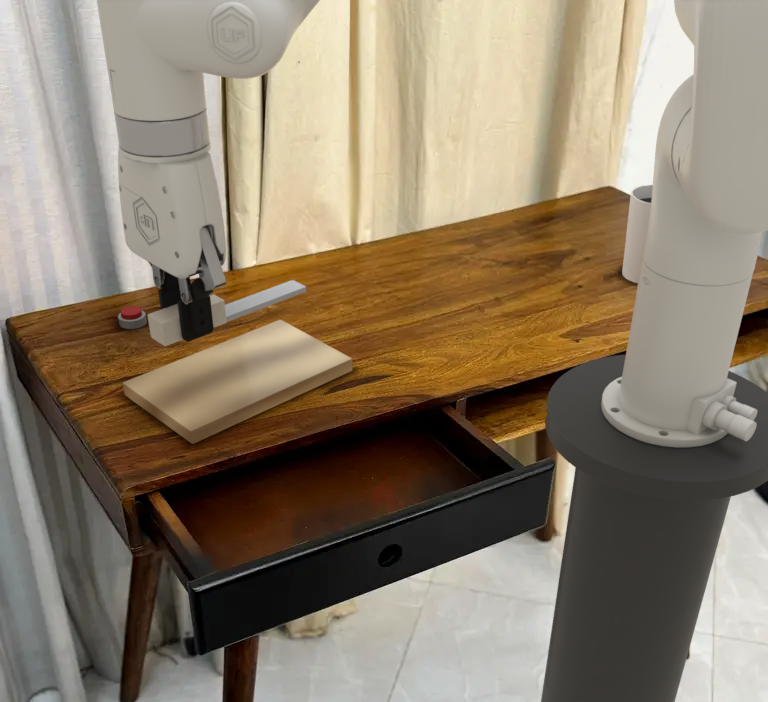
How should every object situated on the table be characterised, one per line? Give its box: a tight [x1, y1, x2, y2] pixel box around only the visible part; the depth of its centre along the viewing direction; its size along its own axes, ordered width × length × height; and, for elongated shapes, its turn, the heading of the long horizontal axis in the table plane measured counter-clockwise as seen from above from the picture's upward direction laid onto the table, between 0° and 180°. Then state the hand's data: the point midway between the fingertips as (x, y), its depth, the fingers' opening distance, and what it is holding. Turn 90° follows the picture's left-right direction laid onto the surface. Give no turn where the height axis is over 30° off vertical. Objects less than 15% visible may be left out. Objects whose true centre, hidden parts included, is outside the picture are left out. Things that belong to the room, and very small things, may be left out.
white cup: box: [621, 184, 653, 284], centre depth 118 cm, size 7×7×10 cm
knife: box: [147, 279, 307, 347], centre depth 95 cm, size 17×2×2 cm, turn 133°
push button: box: [117, 305, 148, 330], centre depth 111 cm, size 3×3×2 cm
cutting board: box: [122, 319, 353, 445], centre depth 100 cm, size 12×20×2 cm, turn 133°
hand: (188, 328), depth 93 cm, fingers closed on knife, 2 cm apart
